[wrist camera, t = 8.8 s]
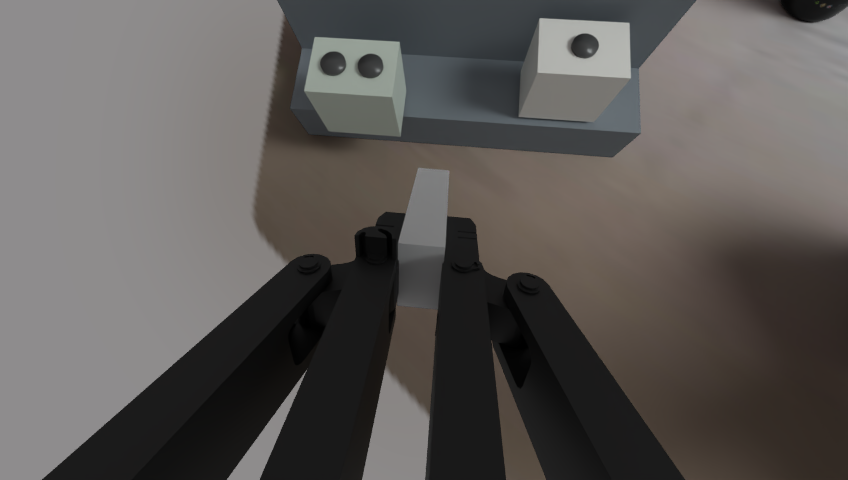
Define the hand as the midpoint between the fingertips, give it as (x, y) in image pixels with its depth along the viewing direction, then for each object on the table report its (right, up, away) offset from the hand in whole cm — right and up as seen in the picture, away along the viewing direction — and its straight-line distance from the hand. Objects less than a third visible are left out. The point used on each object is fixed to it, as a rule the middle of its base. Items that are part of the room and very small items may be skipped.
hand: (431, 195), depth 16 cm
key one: (+12, +12, +15) cm, 23 cm away
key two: (-6, +10, +16) cm, 20 cm away
